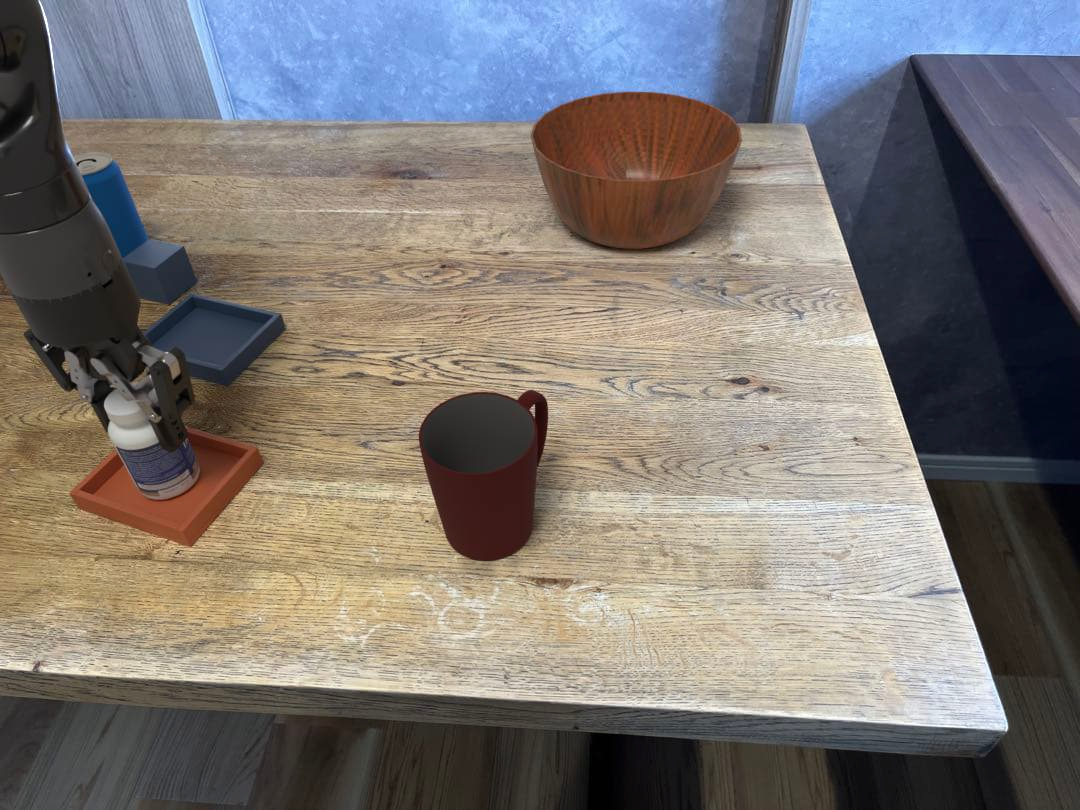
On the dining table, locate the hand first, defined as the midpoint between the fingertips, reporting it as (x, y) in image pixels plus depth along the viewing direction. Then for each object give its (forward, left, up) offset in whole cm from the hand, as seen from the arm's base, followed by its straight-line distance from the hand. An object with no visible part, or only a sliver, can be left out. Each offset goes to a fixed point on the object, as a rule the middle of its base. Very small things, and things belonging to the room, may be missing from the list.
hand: (148, 435), depth 69 cm
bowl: (+25, +58, -6) cm, 64 cm away
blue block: (-22, +25, -6) cm, 34 cm away
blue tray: (-10, +18, -6) cm, 21 cm away
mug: (+29, +7, -6) cm, 31 cm away
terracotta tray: (0, 0, -6) cm, 6 cm away
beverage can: (-33, +30, -6) cm, 45 cm away
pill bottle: (0, 0, -6) cm, 6 cm away
